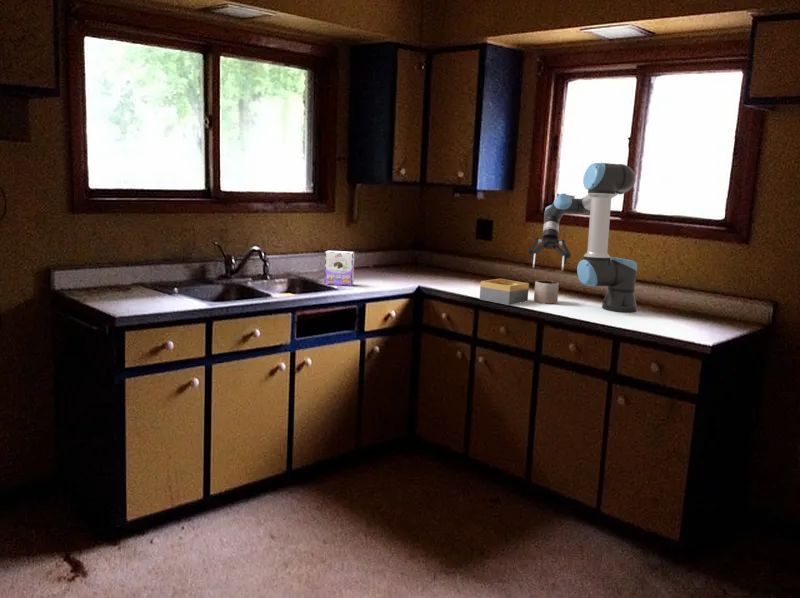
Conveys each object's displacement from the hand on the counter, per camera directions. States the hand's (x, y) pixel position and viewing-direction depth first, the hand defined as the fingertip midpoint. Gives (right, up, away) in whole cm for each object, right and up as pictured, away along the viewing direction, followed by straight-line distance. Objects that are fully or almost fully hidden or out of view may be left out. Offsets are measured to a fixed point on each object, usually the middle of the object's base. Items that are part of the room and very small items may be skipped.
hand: (548, 267), depth 354 cm
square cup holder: (-22, -16, -9) cm, 29 cm away
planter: (-3, -17, -7) cm, 19 cm away
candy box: (-101, -8, +12) cm, 102 cm away
